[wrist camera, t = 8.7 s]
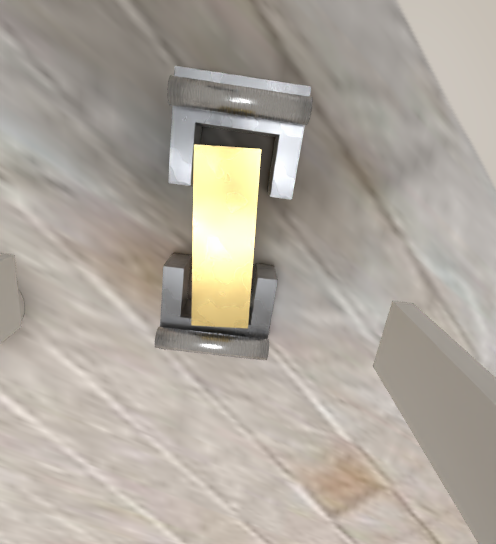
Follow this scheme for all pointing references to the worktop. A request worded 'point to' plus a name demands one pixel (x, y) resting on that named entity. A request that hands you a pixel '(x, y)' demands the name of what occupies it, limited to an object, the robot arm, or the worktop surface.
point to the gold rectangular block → (223, 234)
